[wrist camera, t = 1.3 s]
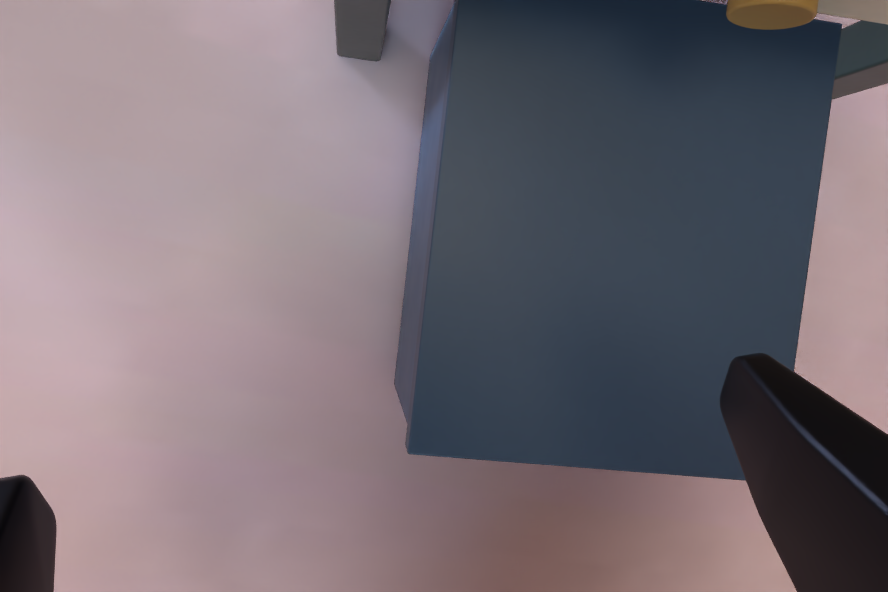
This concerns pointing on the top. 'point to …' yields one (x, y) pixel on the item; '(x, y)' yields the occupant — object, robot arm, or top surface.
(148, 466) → the top surface
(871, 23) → the drawer unit
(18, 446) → the top surface
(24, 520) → the robot arm
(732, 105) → the storage box
